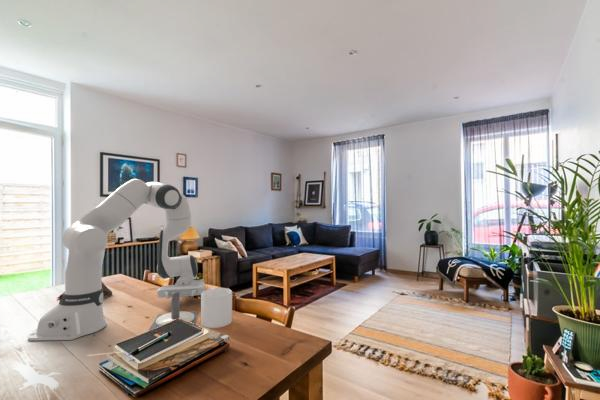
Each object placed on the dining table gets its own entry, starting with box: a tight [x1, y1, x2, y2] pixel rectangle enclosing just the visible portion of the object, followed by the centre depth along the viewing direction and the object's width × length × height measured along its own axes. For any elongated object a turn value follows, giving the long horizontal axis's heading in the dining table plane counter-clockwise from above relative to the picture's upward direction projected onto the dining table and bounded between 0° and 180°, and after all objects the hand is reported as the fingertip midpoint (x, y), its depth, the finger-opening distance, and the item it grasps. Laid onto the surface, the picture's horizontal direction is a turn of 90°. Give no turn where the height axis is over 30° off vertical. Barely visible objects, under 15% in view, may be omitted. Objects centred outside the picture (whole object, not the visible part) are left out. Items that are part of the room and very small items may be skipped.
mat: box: [147, 310, 199, 332], centre depth 118 cm, size 16×16×1 cm
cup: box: [200, 287, 233, 329], centre depth 117 cm, size 12×12×12 cm
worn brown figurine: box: [102, 281, 113, 299], centre depth 146 cm, size 12×6×18 cm, turn 153°
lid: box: [155, 291, 194, 326], centre depth 118 cm, size 14×14×11 cm
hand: (179, 295), depth 128 cm, fingers open, 8 cm apart
